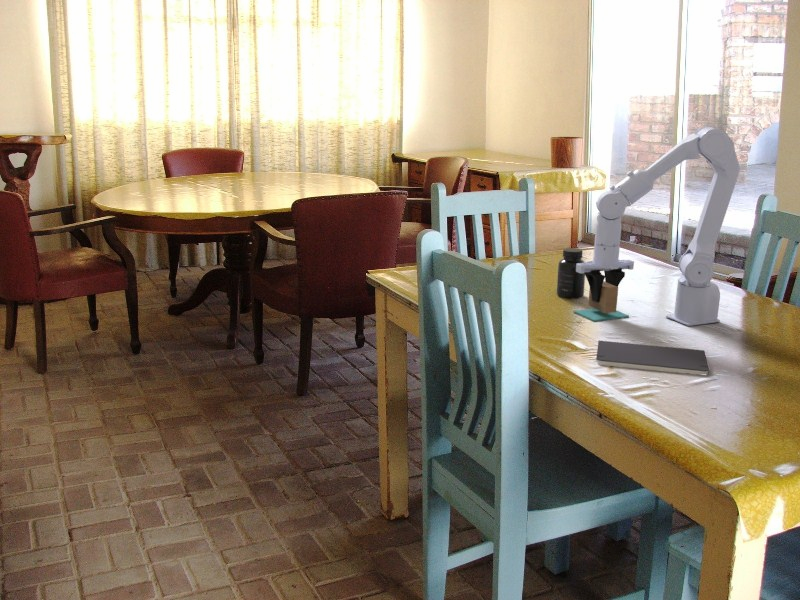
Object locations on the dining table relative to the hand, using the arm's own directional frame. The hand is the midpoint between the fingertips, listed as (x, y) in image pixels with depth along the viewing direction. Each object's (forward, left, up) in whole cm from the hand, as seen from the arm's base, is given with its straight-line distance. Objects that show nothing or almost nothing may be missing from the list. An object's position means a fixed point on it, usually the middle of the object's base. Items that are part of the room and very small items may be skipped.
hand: (602, 300), depth 202 cm
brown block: (0, 0, -2) cm, 2 cm away
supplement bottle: (-3, -17, -4) cm, 18 cm away
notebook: (+10, +30, -4) cm, 32 cm away
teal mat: (0, 0, -3) cm, 3 cm away
